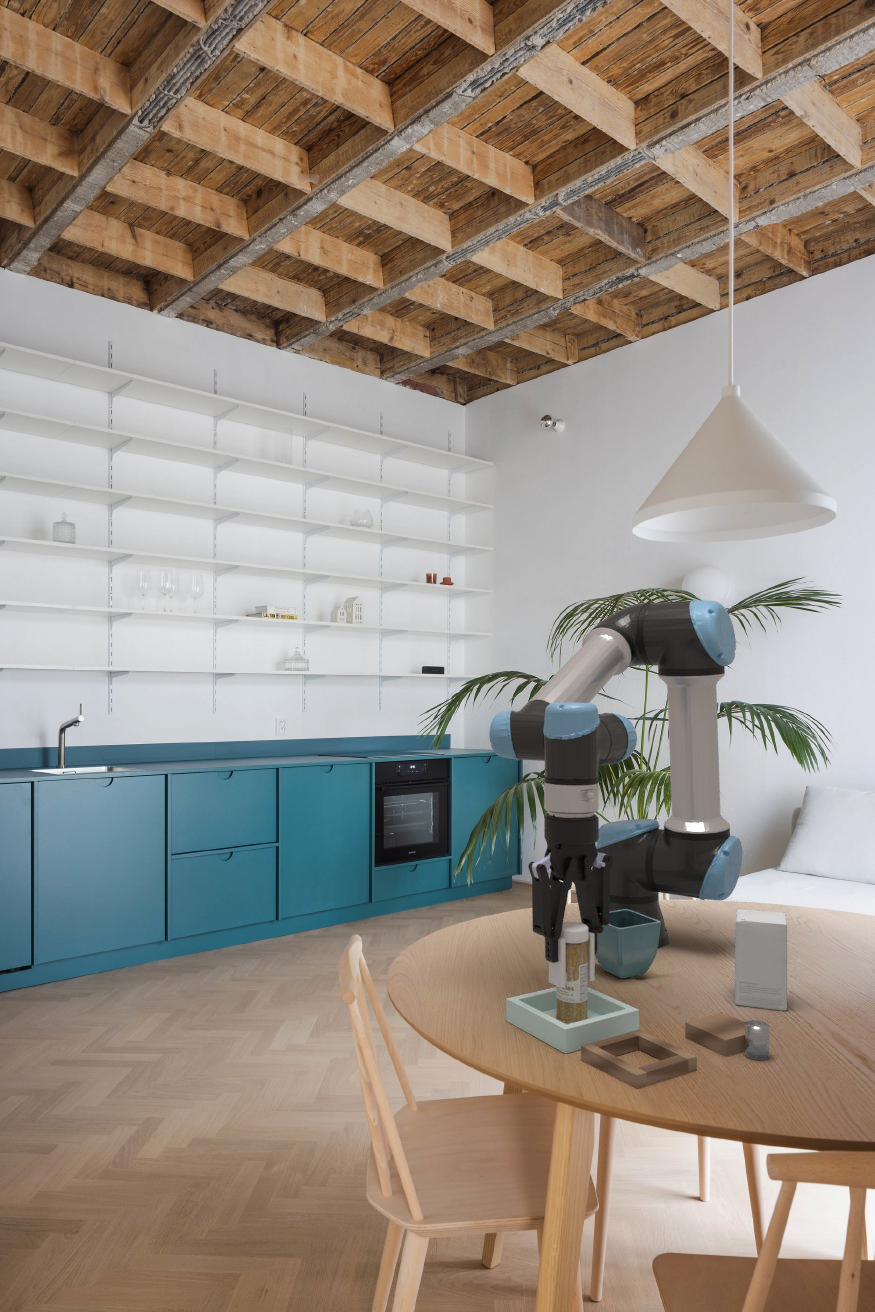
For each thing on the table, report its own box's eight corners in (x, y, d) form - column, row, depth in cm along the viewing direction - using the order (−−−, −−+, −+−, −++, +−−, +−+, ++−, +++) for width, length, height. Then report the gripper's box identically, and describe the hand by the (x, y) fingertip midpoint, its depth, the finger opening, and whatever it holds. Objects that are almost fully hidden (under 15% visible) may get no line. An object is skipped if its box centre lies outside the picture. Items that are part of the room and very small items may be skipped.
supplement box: (788, 1012, 131) (787, 924, 131) (734, 1005, 134) (733, 920, 134) (787, 995, 138) (786, 912, 138) (736, 989, 141) (735, 907, 141)
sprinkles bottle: (549, 1022, 125) (548, 925, 126) (567, 1013, 129) (566, 918, 129) (578, 1031, 123) (577, 931, 123) (595, 1021, 126) (594, 924, 126)
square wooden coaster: (685, 1041, 122) (685, 1022, 122) (721, 1030, 125) (721, 1012, 125) (725, 1060, 116) (725, 1040, 116) (762, 1048, 119) (762, 1029, 119)
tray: (506, 1020, 128) (506, 998, 128) (576, 1003, 135) (576, 982, 135) (565, 1053, 117) (565, 1029, 117) (639, 1032, 124) (639, 1010, 124)
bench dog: (740, 1054, 116) (739, 1023, 117) (755, 1049, 118) (755, 1018, 118) (759, 1063, 114) (759, 1031, 114) (774, 1058, 115) (774, 1026, 116)
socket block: (581, 1060, 115) (581, 1045, 115) (639, 1043, 120) (638, 1029, 120) (637, 1091, 106) (637, 1075, 106) (696, 1071, 112) (696, 1056, 112)
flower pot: (619, 985, 142) (619, 928, 142) (585, 969, 150) (585, 914, 150) (662, 977, 146) (662, 921, 147) (627, 961, 154) (627, 908, 154)
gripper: (538, 822, 118) (538, 1001, 118) (636, 811, 128) (637, 978, 127) (504, 814, 125) (504, 984, 124) (600, 805, 134) (601, 963, 134)
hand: (571, 981), depth 126 cm, fingers closed on sprinkles bottle, 4 cm apart
